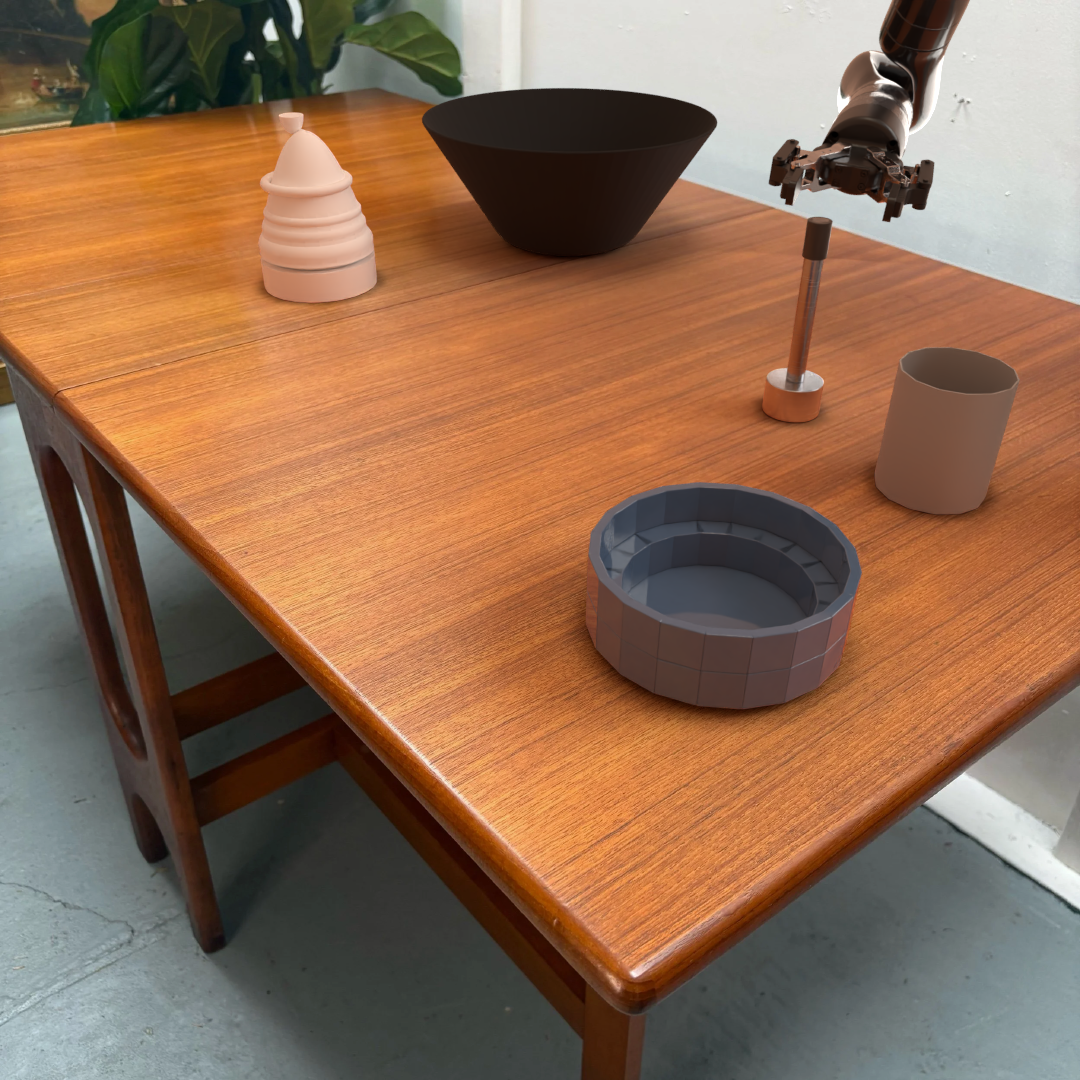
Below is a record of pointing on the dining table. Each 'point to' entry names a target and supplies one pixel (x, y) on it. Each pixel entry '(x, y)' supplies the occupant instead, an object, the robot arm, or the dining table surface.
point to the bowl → (568, 161)
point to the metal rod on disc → (801, 338)
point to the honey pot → (313, 224)
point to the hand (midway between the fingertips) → (839, 203)
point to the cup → (944, 429)
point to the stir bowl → (720, 594)
